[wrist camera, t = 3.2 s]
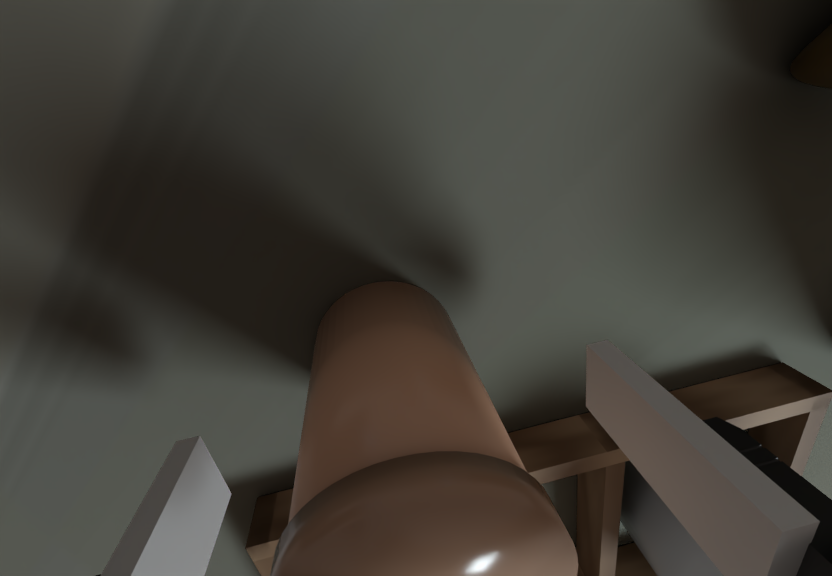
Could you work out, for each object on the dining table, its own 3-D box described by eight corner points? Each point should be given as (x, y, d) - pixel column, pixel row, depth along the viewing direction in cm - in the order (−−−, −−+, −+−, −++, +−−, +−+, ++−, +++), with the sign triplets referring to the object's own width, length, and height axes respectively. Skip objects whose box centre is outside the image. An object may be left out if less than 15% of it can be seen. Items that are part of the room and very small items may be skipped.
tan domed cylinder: (332, 417, 18) (316, 720, 9) (290, 296, 15) (206, 557, 6) (465, 384, 18) (576, 642, 9) (447, 261, 16) (580, 458, 7)
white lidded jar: (600, 536, 25) (738, 767, 16) (605, 442, 22) (788, 673, 13) (719, 502, 26) (916, 707, 17) (744, 406, 22) (1011, 601, 13)
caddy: (330, 638, 25) (329, 689, 23) (257, 497, 19) (245, 548, 17) (735, 521, 27) (770, 558, 25) (782, 362, 21) (833, 391, 19)
